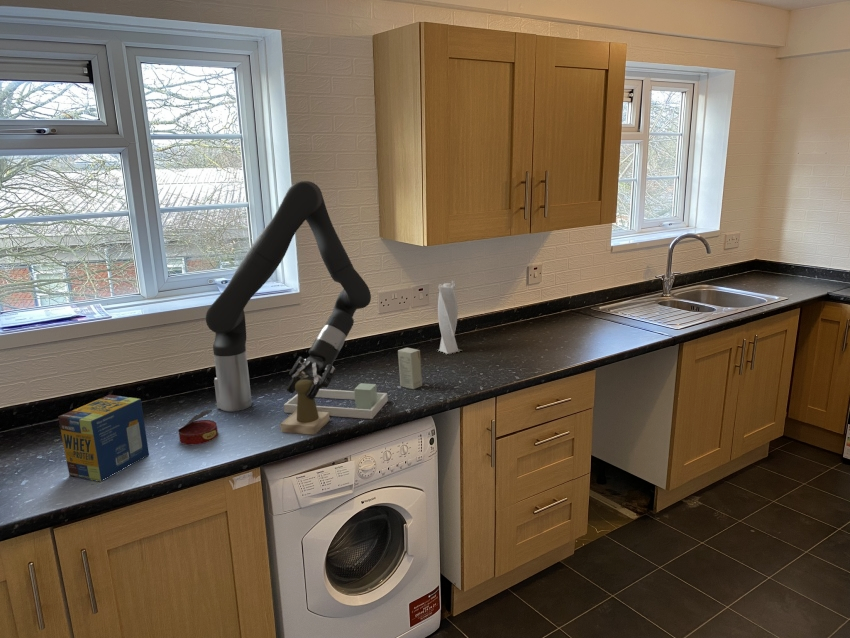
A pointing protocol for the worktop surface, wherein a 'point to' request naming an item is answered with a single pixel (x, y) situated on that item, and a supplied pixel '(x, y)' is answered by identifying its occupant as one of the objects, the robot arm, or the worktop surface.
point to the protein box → (103, 436)
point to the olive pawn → (305, 402)
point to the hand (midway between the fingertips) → (299, 395)
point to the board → (304, 424)
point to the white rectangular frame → (337, 411)
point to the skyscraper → (447, 318)
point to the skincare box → (410, 368)
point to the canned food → (198, 430)
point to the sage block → (365, 396)
